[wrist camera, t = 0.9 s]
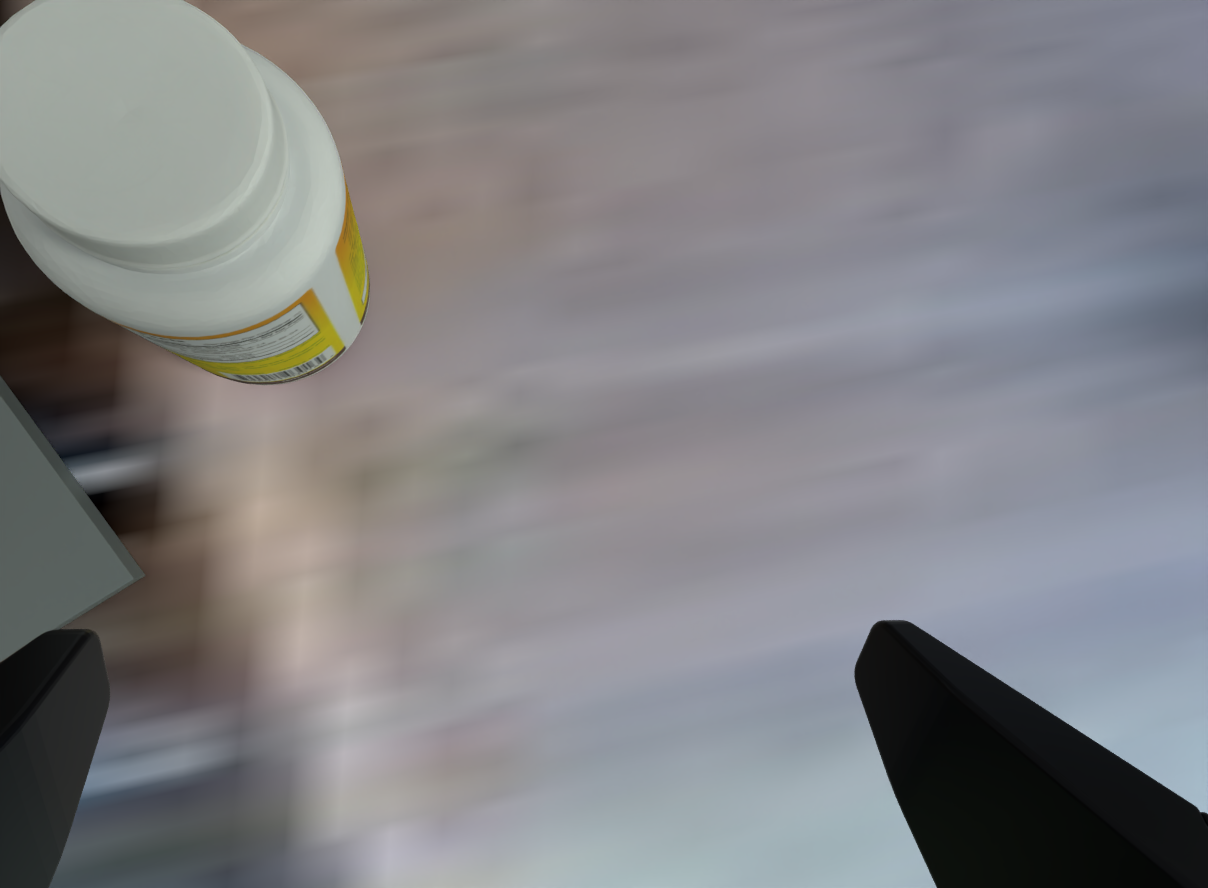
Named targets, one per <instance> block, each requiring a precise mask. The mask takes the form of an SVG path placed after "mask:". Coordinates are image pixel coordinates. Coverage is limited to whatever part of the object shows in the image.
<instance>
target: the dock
mask: <svg viewBox="0 0 1208 888" xmlns="http://www.w3.org/2000/svg"><path fill="white" fill-rule="evenodd" d="M144 576H145V574H144V573H143V571H142V570H141V569H140V567H139V566H138V565H137V563H136V562H135V560H134V559H133V558H132V556H131V555H130V554H129V552H128V551H127V549H126V548H125V547H124V545H123V544H122V543H121V541H120V540H119V538H118V537H117V536H116V534H115V533H114V531H113V530H112V529H111V527H110V526H109V525H108V523H107V522H106V520H105V519H104V518H103V516H102V515H101V514H100V512H99V511H98V509H97V508H96V507H95V505H94V504H93V503H92V501H91V500H90V498H89V497H88V496H87V494H86V493H85V492H84V490H83V489H82V487H81V486H80V485H79V483H78V482H77V481H76V479H75V478H74V476H73V475H72V474H71V472H70V471H69V470H68V468H67V467H66V465H65V464H64V463H63V461H62V460H61V459H60V457H59V456H58V454H57V453H56V452H55V450H54V449H53V448H52V446H51V445H50V443H49V442H48V441H47V439H46V438H45V437H44V435H43V434H42V432H41V431H40V430H39V428H38V427H37V426H36V424H35V423H34V421H33V420H32V419H31V417H30V416H29V414H28V413H27V412H26V410H25V409H24V408H23V406H22V405H21V403H20V402H19V401H18V399H17V398H16V397H15V395H14V394H13V392H12V391H11V390H10V388H9V387H8V386H7V384H6V383H5V381H4V380H3V379H2V377H1V376H0V662H2V661H3V660H4V659H6V658H7V657H9V656H10V655H12V654H13V653H15V652H16V651H17V650H19V649H20V648H22V647H23V646H25V645H26V644H28V643H29V642H31V641H32V640H33V639H35V638H36V637H38V636H39V635H41V634H43V633H45V632H47V631H50V630H58V629H60V628H62V627H63V626H65V625H66V624H68V623H70V622H71V621H73V620H75V619H76V618H78V617H79V616H81V615H83V614H84V613H86V612H87V611H89V610H91V609H92V608H94V607H96V606H97V605H99V604H100V603H102V602H104V601H105V600H107V599H108V598H110V597H112V596H113V595H115V594H117V593H118V592H120V591H121V590H123V589H125V588H126V587H128V586H129V585H131V584H133V583H134V582H136V581H138V580H139V579H141V578H142V577H144Z"/></svg>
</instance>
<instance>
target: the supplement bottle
mask: <svg viewBox="0 0 1208 888" xmlns="http://www.w3.org/2000/svg"><path fill="white" fill-rule="evenodd" d="M0 191H1V196H2V200H3V203H4V206H5V209H6V212H7V215H8V218H9V220H10V223H11V225H12V227H13V229H14V232H15V234H16V236H17V238H18V239H19V241H20V242H21V244H22V246H23V247H24V249H25V250H26V252H27V253H28V254H29V256H30V257H31V258H32V260H33V261H34V263H35V264H36V265H37V266H38V267H39V268H40V269H41V270H42V272H43V273H44V274H45V275H46V276H47V277H48V278H49V279H50V280H51V281H52V282H53V283H54V284H56V285H57V286H58V287H59V288H60V289H61V290H63V291H64V292H65V293H66V294H68V295H69V296H71V297H72V298H73V299H75V300H76V301H78V302H79V303H81V304H82V305H84V306H85V307H86V308H88V309H90V310H92V311H93V312H95V313H97V314H99V315H101V316H102V317H104V318H106V319H108V320H110V321H112V322H114V323H116V324H118V325H120V326H122V327H124V328H126V329H128V330H129V331H131V332H133V333H135V334H137V335H139V336H141V337H143V338H145V339H146V340H148V341H150V342H152V343H154V344H156V345H158V346H160V347H162V348H164V349H166V350H168V351H170V352H172V353H174V354H176V355H178V356H179V357H181V358H183V359H185V360H187V361H189V362H191V363H193V364H195V365H197V366H199V367H201V368H202V369H204V370H206V371H208V372H211V373H213V374H215V375H217V376H220V377H223V378H226V379H229V380H233V381H237V382H241V383H247V384H256V385H276V384H284V383H289V382H294V381H297V380H301V379H304V378H307V377H309V376H312V375H314V374H316V373H318V372H320V371H321V370H323V369H325V368H326V367H328V366H329V365H331V364H332V363H333V362H335V361H336V360H337V359H338V358H339V357H341V356H342V355H343V353H344V352H345V351H346V350H347V349H348V348H349V347H350V346H351V344H352V343H353V342H354V340H355V339H356V337H357V335H358V333H359V332H360V330H361V328H362V325H363V323H364V320H365V317H366V314H367V310H368V305H369V298H370V281H369V272H368V265H367V261H366V257H365V253H364V249H363V245H362V242H361V238H360V234H359V230H358V226H357V222H356V219H355V215H354V212H353V208H352V204H351V200H350V196H349V192H348V188H347V184H346V181H345V176H344V172H343V168H342V164H341V160H340V156H339V154H338V151H337V148H336V144H335V142H334V140H333V137H332V135H331V133H330V130H329V128H328V126H327V125H326V123H325V121H324V119H323V117H322V116H321V114H320V112H319V111H318V109H317V108H316V106H315V105H314V104H313V102H312V101H311V100H310V98H309V97H308V96H307V95H306V94H305V92H304V91H303V90H302V89H301V88H300V87H299V86H298V85H297V84H296V83H295V82H294V80H292V79H291V78H290V77H289V76H288V75H287V74H286V73H285V72H284V71H282V70H281V69H280V68H279V67H277V66H276V65H275V64H274V63H272V62H271V61H269V60H268V59H266V58H265V57H263V56H262V55H260V54H259V53H257V52H255V51H253V50H252V49H250V48H248V47H246V46H244V45H242V44H240V43H239V42H238V41H237V39H236V38H235V37H234V36H233V35H232V34H231V33H230V32H229V31H228V30H227V29H226V28H225V27H223V26H222V25H221V24H220V23H218V22H217V21H216V20H215V19H213V18H212V17H210V16H209V15H207V14H206V13H204V12H203V11H201V10H200V9H198V8H196V7H195V6H193V5H191V4H189V3H187V2H185V1H183V0H35V1H34V2H32V3H31V4H29V5H28V6H26V7H25V8H23V9H22V10H20V11H19V12H17V13H16V14H14V15H13V16H12V17H11V18H10V19H9V20H8V21H7V22H5V23H4V24H3V25H2V26H1V27H0Z"/></svg>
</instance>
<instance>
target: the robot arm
mask: <svg viewBox="0 0 1208 888" xmlns="http://www.w3.org/2000/svg"><path fill="white" fill-rule="evenodd" d="M855 683H856V686H857V689H858V692H859V695H860V698H861V701H862V704H863V707H864V709H865V712H866V715H867V718H868V721H869V724H870V727H871V730H872V732H873V735H874V738H875V741H876V744H877V747H878V750H879V752H880V755H881V758H882V761H883V764H884V767H885V770H886V773H887V775H888V778H889V781H890V783H891V786H892V789H893V791H894V794H895V796H896V799H897V801H898V803H899V806H900V808H901V810H902V813H903V815H904V817H905V819H906V821H907V824H908V826H909V828H910V830H911V832H912V834H913V837H914V839H915V841H916V843H917V845H918V848H919V850H920V852H921V854H922V856H923V858H924V861H925V863H926V865H927V867H928V869H929V872H930V874H931V876H932V878H933V880H934V882H935V885H936V887H937V888H1208V814H1207V813H1205V812H1200V811H1199V810H1198V808H1197V807H1196V806H1194V805H1193V804H1191V803H1190V802H1188V801H1187V800H1185V799H1184V798H1182V797H1180V796H1179V795H1177V794H1176V793H1174V792H1173V791H1171V790H1170V789H1168V788H1166V787H1165V786H1163V785H1162V784H1160V783H1159V782H1157V781H1156V780H1154V779H1153V778H1151V777H1149V776H1148V775H1146V774H1145V773H1143V772H1142V771H1140V770H1139V769H1137V768H1135V767H1134V766H1132V765H1131V764H1129V763H1128V762H1126V761H1125V760H1123V759H1122V758H1120V757H1118V756H1117V755H1115V754H1114V753H1112V752H1111V751H1109V750H1108V749H1106V748H1104V747H1103V746H1101V745H1100V744H1098V743H1097V742H1095V741H1094V740H1092V739H1091V738H1089V737H1087V736H1086V735H1084V734H1083V733H1081V732H1080V731H1078V730H1077V729H1075V728H1073V727H1072V726H1070V725H1069V724H1067V723H1066V722H1064V721H1063V720H1061V719H1060V718H1058V717H1056V716H1055V715H1053V714H1052V713H1050V712H1049V711H1047V710H1046V709H1044V708H1042V707H1041V706H1039V705H1038V704H1036V703H1035V702H1033V701H1032V700H1030V699H1029V698H1027V697H1025V696H1024V695H1022V694H1021V693H1019V692H1018V691H1016V690H1015V689H1013V688H1011V687H1010V686H1008V685H1007V684H1005V683H1004V682H1002V681H1001V680H999V679H998V678H996V677H994V676H993V675H991V674H990V673H988V672H987V671H985V670H984V669H982V668H981V667H979V666H977V665H976V664H974V663H973V662H971V661H970V660H968V659H967V658H965V657H964V656H962V655H960V654H959V653H957V652H956V651H954V650H953V649H951V648H950V647H948V646H946V645H945V644H943V643H942V642H940V641H939V640H937V639H936V638H934V637H933V636H931V635H929V634H928V633H926V632H925V631H923V630H922V629H920V628H919V627H917V626H916V625H914V624H912V623H911V622H908V621H904V620H883V621H879V622H877V623H876V624H875V625H873V627H872V628H871V630H870V633H869V635H868V637H867V640H866V642H865V644H864V646H863V649H862V651H861V653H860V655H859V658H858V660H857V662H856V665H855ZM109 701H110V683H109V679H108V674H107V669H106V665H105V660H104V656H103V651H102V647H101V642H100V639H99V636H98V635H97V633H96V632H94V631H92V630H89V629H58V630H50V631H47V632H45V633H43V634H41V635H39V636H38V637H36V638H35V639H33V640H32V641H31V642H29V643H28V644H26V645H25V646H23V647H22V648H20V649H19V650H17V651H16V652H15V653H13V654H12V655H10V656H9V657H7V658H6V659H4V660H3V661H2V662H0V888H49V886H50V883H51V881H52V879H53V876H54V874H55V871H56V869H57V866H58V864H59V861H60V859H61V856H62V853H63V850H64V847H65V844H66V841H67V838H68V836H69V833H70V829H71V826H72V823H73V820H74V817H75V813H76V810H77V807H78V804H79V801H80V797H81V794H82V791H83V788H84V785H85V781H86V778H87V775H88V772H89V769H90V765H91V762H92V759H93V756H94V753H95V749H96V746H97V743H98V740H99V736H100V733H101V730H102V727H103V724H104V720H105V717H106V714H107V711H108V707H109Z"/></svg>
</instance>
